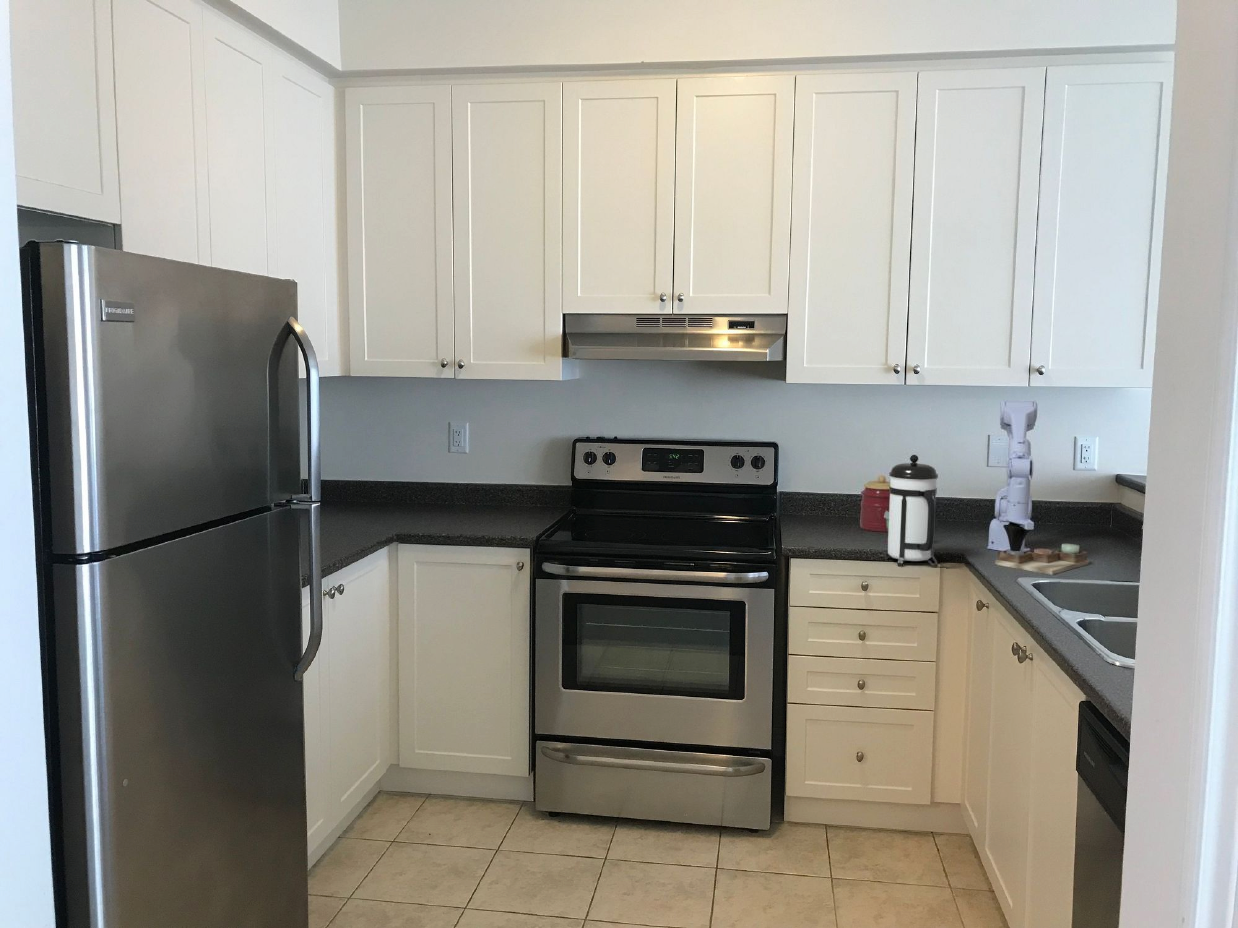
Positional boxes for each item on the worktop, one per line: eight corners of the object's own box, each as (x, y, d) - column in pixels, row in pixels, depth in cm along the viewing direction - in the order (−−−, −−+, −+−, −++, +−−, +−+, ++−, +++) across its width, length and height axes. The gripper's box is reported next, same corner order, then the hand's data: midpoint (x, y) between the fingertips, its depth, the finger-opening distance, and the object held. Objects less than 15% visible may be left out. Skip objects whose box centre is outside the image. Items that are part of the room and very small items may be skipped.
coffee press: (870, 562, 267) (874, 454, 263) (896, 554, 279) (901, 450, 275) (930, 572, 255) (935, 460, 252) (955, 563, 267) (960, 455, 264)
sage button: (1058, 554, 267) (1058, 544, 267) (1065, 552, 270) (1066, 543, 270) (1074, 556, 264) (1074, 547, 264) (1081, 554, 267) (1082, 545, 266)
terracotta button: (1030, 559, 267) (1031, 549, 267) (1038, 557, 270) (1039, 547, 269) (1046, 561, 263) (1046, 552, 263) (1053, 559, 266) (1054, 550, 266)
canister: (893, 525, 325) (895, 473, 323) (905, 532, 312) (907, 478, 310) (855, 524, 325) (857, 472, 323) (865, 532, 312) (867, 478, 310)
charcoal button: (1003, 559, 266) (1003, 550, 266) (1011, 557, 269) (1011, 548, 269) (1018, 562, 263) (1018, 552, 262) (1026, 560, 266) (1026, 550, 265)
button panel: (995, 564, 266) (995, 552, 266) (1032, 554, 279) (1033, 542, 279) (1052, 574, 254) (1052, 562, 254) (1088, 563, 267) (1089, 551, 267)
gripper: (991, 497, 271) (989, 545, 272) (1016, 506, 256) (1014, 556, 258) (1015, 497, 271) (1013, 545, 273) (1042, 506, 257) (1039, 556, 259)
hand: (1015, 550), depth 266 cm, fingers closed, pressing on charcoal button
